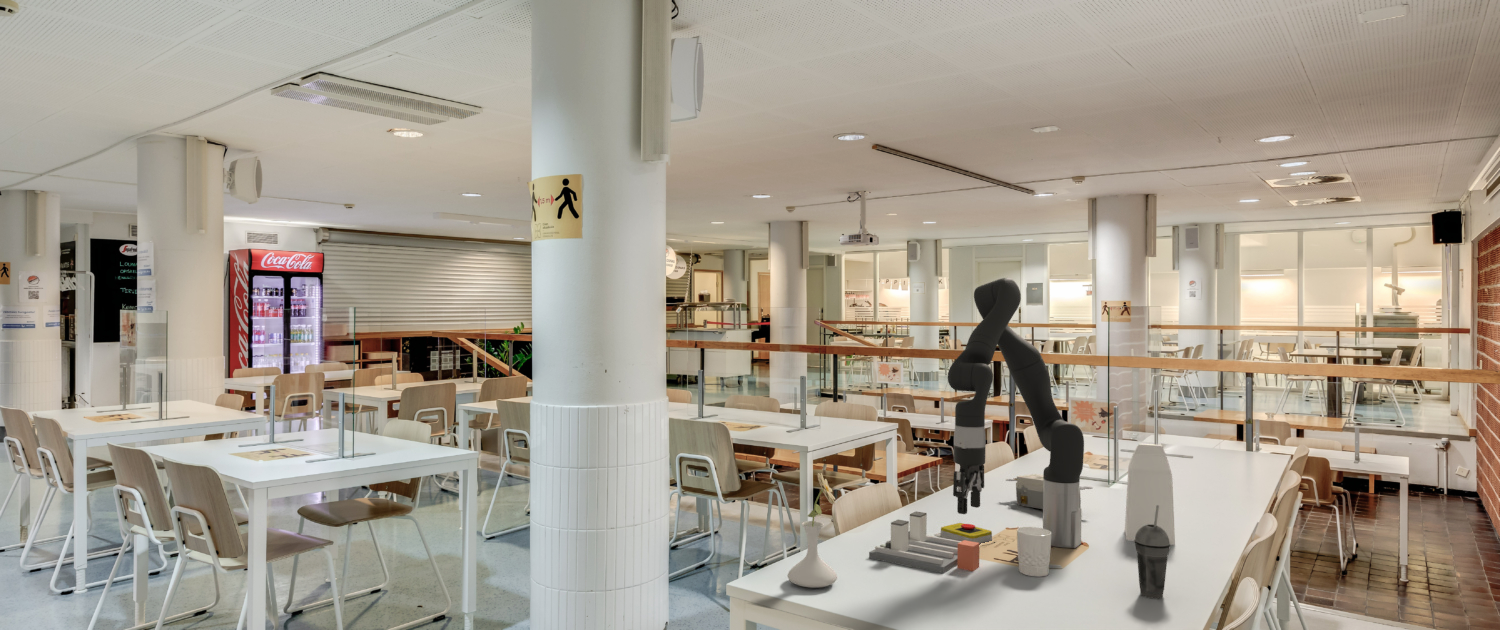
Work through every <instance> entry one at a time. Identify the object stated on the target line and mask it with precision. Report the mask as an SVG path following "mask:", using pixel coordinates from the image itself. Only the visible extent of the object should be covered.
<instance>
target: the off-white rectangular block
mask: <svg viewBox="0 0 1500 630" xmlns="http://www.w3.org/2000/svg"><path fill="white" fill-rule="evenodd" d="M927 516H928V514H927V512H923V511H918V510H917V511H916V510H915V511H914V512H912V513H909V531H910V535H909V539H910V540H915V541H921V542H925V541H926V535H927Z"/></svg>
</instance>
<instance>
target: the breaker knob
mask: <svg viewBox="0 0 1500 630" xmlns="http://www.w3.org/2000/svg"><path fill="white" fill-rule="evenodd" d="M909 531H910V520H909V521H908V520H903V519H896V520H893V521H891V522H890V540H891V549H894V550H899V551H904V552H906V551H908V544H909Z"/></svg>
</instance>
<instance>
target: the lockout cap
mask: <svg viewBox="0 0 1500 630" xmlns="http://www.w3.org/2000/svg"><path fill="white" fill-rule="evenodd" d="M979 545H980V543H977V542H971V541H966V540H963V541H962V542H960V543H958V556H957V565H956V567H957V569H959V570H965V571H969V572H974V571H976V570H978V569H979V568H980V547H979Z"/></svg>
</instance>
